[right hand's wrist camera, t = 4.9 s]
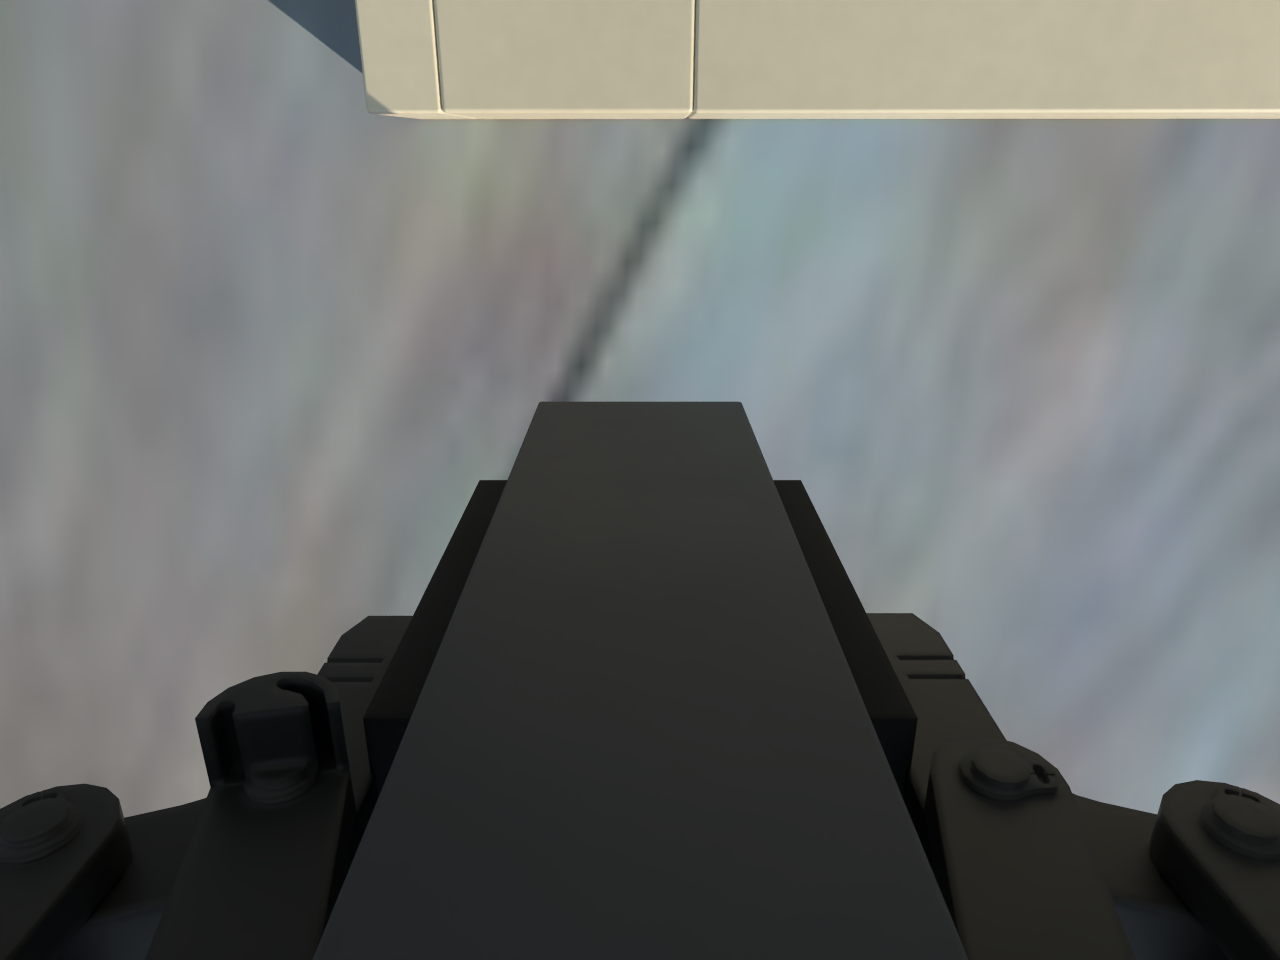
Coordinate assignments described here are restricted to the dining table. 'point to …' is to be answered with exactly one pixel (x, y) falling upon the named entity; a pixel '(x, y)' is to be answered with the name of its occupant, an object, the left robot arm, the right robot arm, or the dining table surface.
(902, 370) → the dining table surface
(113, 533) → the dining table surface
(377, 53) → the peg board
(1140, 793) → the dining table surface
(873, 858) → the peg
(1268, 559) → the dining table surface
